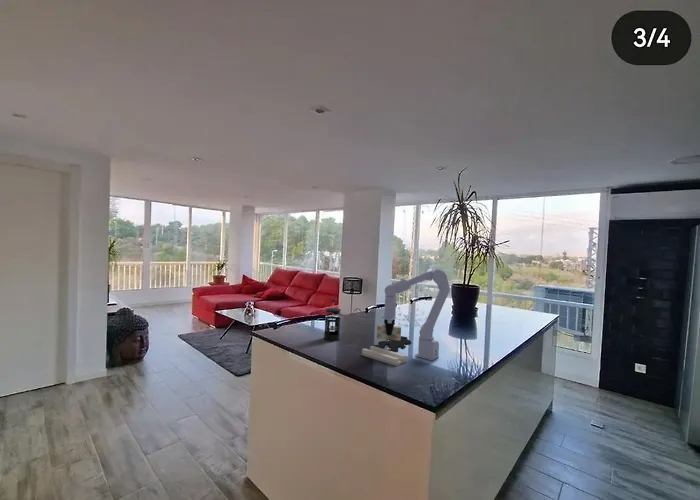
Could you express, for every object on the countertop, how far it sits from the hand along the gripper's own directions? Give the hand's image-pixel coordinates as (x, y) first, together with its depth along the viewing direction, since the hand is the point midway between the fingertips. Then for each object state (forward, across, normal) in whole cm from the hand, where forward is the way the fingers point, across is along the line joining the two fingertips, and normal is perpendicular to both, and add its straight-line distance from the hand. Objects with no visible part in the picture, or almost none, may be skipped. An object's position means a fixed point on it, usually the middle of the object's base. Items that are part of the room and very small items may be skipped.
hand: (389, 334), depth 168 cm
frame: (+2, 0, 0) cm, 2 cm away
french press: (+9, -15, -32) cm, 37 cm away
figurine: (+9, -16, +4) cm, 19 cm away
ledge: (+9, +12, -2) cm, 15 cm away
